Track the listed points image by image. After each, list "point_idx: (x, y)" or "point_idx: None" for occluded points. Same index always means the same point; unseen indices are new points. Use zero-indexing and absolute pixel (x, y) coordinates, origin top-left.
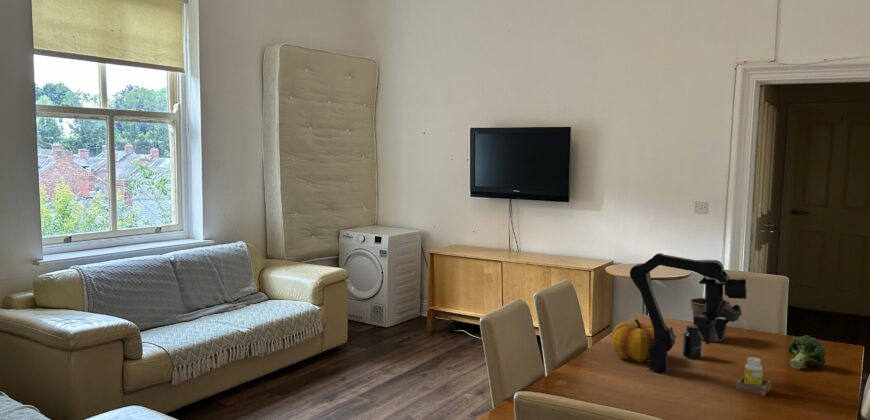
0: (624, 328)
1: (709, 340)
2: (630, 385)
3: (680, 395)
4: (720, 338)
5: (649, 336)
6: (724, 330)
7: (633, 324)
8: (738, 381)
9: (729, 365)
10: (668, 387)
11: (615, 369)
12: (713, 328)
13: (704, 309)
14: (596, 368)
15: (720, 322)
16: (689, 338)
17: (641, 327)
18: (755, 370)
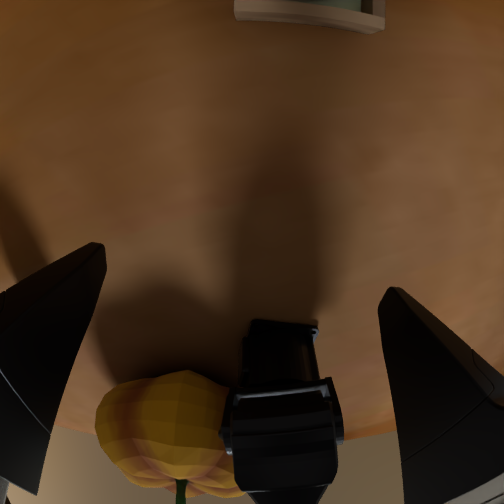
0: (238, 494)
1: (424, 310)
2: None
3: (499, 219)
4: (103, 255)
5: (228, 459)
6: (14, 286)
7: (165, 486)
8: (366, 20)
9: (19, 170)
10: (447, 268)
11: (339, 400)
12: None
13: None
14: (351, 417)
15: (1, 423)
16: None
17: (170, 478)
18: None
